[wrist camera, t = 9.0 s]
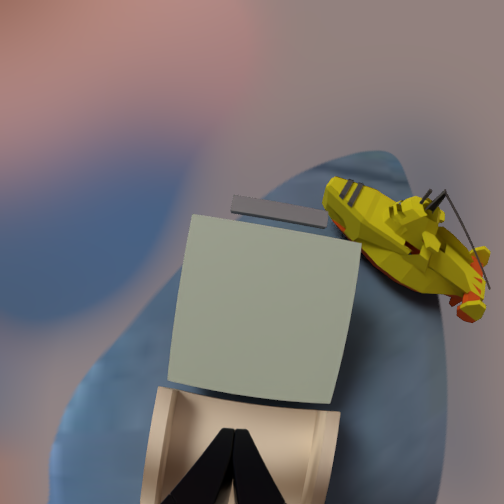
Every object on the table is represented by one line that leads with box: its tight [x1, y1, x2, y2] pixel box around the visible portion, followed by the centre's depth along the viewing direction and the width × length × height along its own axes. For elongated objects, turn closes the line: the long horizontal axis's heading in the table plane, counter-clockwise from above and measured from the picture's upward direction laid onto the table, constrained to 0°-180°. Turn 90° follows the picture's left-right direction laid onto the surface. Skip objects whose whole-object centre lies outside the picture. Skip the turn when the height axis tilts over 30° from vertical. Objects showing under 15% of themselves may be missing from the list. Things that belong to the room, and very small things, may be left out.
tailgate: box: [167, 195, 362, 404], centre depth 17 cm, size 2×10×12 cm
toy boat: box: [322, 176, 490, 323], centre depth 20 cm, size 6×18×10 cm, turn 56°
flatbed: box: [140, 386, 340, 504], centre depth 12 cm, size 12×11×5 cm
